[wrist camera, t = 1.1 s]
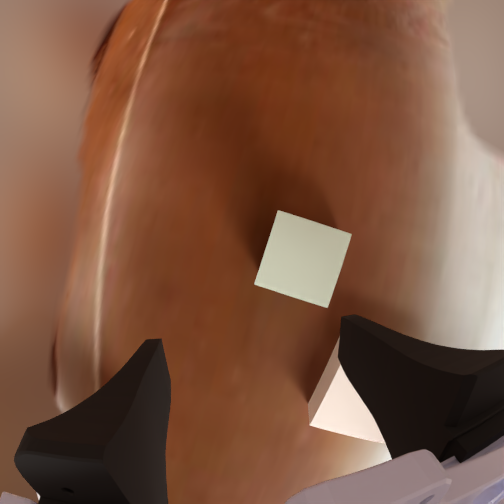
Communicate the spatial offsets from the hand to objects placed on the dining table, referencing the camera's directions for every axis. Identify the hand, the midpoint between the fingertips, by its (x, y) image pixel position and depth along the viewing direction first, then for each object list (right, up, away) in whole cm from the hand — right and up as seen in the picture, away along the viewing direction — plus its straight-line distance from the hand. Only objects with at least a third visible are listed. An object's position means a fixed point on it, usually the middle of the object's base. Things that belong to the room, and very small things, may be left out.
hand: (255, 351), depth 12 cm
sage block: (+4, +3, +13) cm, 14 cm away
